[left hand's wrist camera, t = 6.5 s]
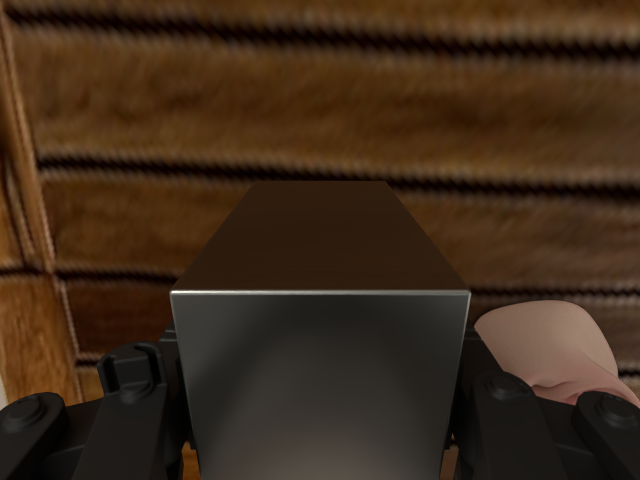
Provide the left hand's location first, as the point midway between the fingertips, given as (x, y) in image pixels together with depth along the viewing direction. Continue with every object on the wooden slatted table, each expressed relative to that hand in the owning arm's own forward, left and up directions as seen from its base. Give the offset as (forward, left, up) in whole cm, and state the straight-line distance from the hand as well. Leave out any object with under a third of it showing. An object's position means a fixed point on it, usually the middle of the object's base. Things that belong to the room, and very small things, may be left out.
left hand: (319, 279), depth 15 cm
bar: (0, +7, -1) cm, 7 cm away
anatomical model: (-18, +14, -12) cm, 26 cm away
